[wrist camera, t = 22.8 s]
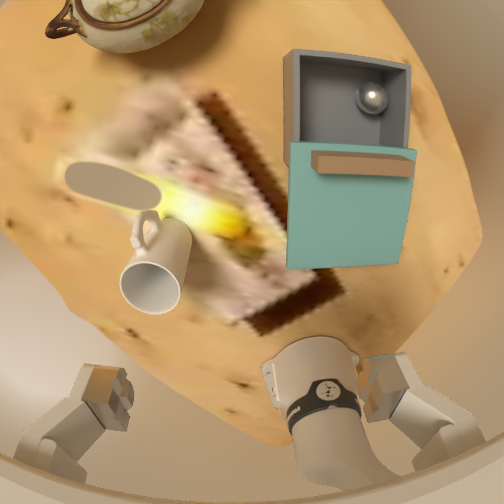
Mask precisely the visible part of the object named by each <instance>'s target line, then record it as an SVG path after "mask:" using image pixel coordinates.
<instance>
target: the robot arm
mask: <svg viewBox="0 0 504 504" xmlns="http://www.w3.org/2000/svg"><path fill="white" fill-rule="evenodd" d="M358 363H359V355H358V354H356V353H354V352H351V351H349V350H348V348H347V347H346V346H345V344H344V343H342V342H341V341H339V340H337V339H335V338H331V337H324V336H318V337H310V338H305V339H302V340H299V341H297V342H294V343H292V344H290V345H289V346H287V347H286V348H284V349H283V350H282V351H281V352H280V353H279V354H278V355H277V356H276V357H274V358H273V359H270V360H268V361H266V362H264V363H263V364H262V365H261V370H262V373H263V376H264V380H265V383H266V386H267V389H268V392H269V395H270V398H271V401H272V404H273V406H274V407H275V408H278V409H282V413H283V416H284V419H285V420H286V421H287V426H288V429H289V432H290V434H291V435H292V436H293V443H294V450H295V458H296V465H297V469H298V471H299V473H300V474H301V475H302V476H303V477H304V478H305V479H307V480H308V481H310V482H313V483H316V484H321V485H327V486H332V487H336V488H339V489H341V490H342V492H338V493H332V494H327V495H320V496H313V497H306V498H299V499H289V500H279V501H265V502H242V503H218V502H194V501H181V500H180V501H179V500H170V499H161V498H153V497H147V496H140V495H133V494H128V493H123V492H118V491H113V490H108V489H104V488H100V487H96V486H92V485H88V484H85V481H86V477H87V472H86V470H85V469H84V468H83V467H81V466H80V465H79V464H78V463H77V461H78V460H79V459H80V458H81V457H82V456H83V455H84V453H85V452H86V451H87V450H88V449H89V448H90V447H91V446H92V445H93V444H94V442H95V441H96V440H97V439H98V438H99V437H100V436H101V435H102V434H103V433H104V432H105V429H108V430H116V431H125V432H126V431H127V427H128V423H129V419H130V416H129V414H128V412H127V411H128V410H129V409H130V408H131V407H132V406H133V401H134V390H133V386H132V384H131V382H130V381H128V380H127V379H126V376H127V373H126V371H125V369H124V368H119V367H110V366H102V365H93V364H84V365H83V366H82V367H81V369H80V371H79V374H78V376H77V378H76V381H75V383H74V386H73V388H72V391H71V393H70V396H69V398H64V399H63V400H62V401H60V402H59V403H58V404H57V405H55V406H54V407H53V408H51V409H50V410H49V411H48V412H46V413H45V414H44V415H43V416H41V417H40V418H39V419H37V420H36V421H35V422H34V423H32V424H31V425H30V426H29V427H27V428H26V429H25V430H24V431H23V433H22V436H21V438H20V441H19V444H18V446H17V449H16V452H15V455H14V457H13V458H11V457H8V456H6V455H4V454H2V453H0V504H504V432H503V433H501V434H499V435H497V436H496V437H494V438H492V439H490V440H488V441H485V439H484V437H483V435H482V432H481V430H480V428H479V426H478V424H477V422H476V420H475V418H474V416H473V414H471V413H470V412H468V411H467V410H465V409H464V408H462V407H460V406H459V405H457V404H456V403H454V402H453V401H451V400H450V399H448V398H446V397H445V396H443V395H442V394H440V393H439V392H437V391H436V390H434V389H433V388H431V387H430V386H428V385H423V384H422V382H421V380H420V378H419V376H418V374H417V372H416V370H415V368H414V366H413V365H412V363H411V361H410V359H409V357H408V355H407V353H405V352H401V353H395V354H387V355H382V356H376V357H371V358H366V359H365V360H364V361H363V364H362V367H363V371H362V372H360V373H359V375H358V374H357V371H356V366H357V364H358ZM358 394H359V397H360V399H362V400H363V401H364V402H365V405H364V407H363V410H364V412H365V416H366V418H367V422H368V423H370V422H376V421H381V420H386V419H389V420H390V421H391V422H392V423H393V424H394V425H395V426H397V427H398V428H399V429H400V430H401V431H402V432H403V433H404V434H405V435H406V436H407V437H409V438H410V439H411V440H412V441H413V442H414V443H415V444H416V445H417V446H419V447H420V448H421V449H422V450H421V451H420V452H419V453H418V454H417V455H416V456H415V457H414V459H413V460H412V463H413V467H414V469H415V472H413V473H410V474H408V475H404V476H399V475H397V474H395V473H394V472H392V471H391V470H389V469H387V467H385V466H384V465H383V464H382V463H381V462H380V461H379V460H378V458H377V457H376V456H375V454H374V452H373V450H372V449H371V446H370V444H369V441H368V439H367V436H366V434H365V431H364V428H363V425H362V422H361V419H360V418H361V408H360V404H359V402H358V399H357V395H358Z"/></svg>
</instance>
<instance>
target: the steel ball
mask: <svg viewBox="0 0 504 504" xmlns="http://www.w3.org/2000/svg"><path fill="white" fill-rule="evenodd" d="M355 97H356V102H357V104H358V106H359V107H360V108H361V109H362V110H363V111H364V112H366V113H369V114H378V113H381V112H382V111H384V110H385V108H386V107H387V105H388V100H389V99H388V94H387V92H386V90H385V89H384V88H383V87H382V86H381V85H379V84H378V83H375V82H366V83H363V84H362V85H360V86H359V87H358V89H357V91H356V96H355Z"/></svg>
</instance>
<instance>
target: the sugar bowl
mask: <svg viewBox="0 0 504 504" xmlns="http://www.w3.org/2000/svg"><path fill="white" fill-rule="evenodd" d="M203 3H204V0H66V3H65V6H64V8H63V9H62V11H61V12H60V13H59V14H58V15H57V16H56V17H55V18H54V19H53V20H52V21H51V22H50V23H49V24H48V26H47V28H46V31H45V34H46V36H47V37H48V38H51V39H56V38H61V37H65V36H68V35H71V34H74V33H78V35H79V36H80V37H81V38H82V39H83V40H84V41H85V42H86V43H88V44H89V45H91V46H93V47H95V48H97V49H100V50H102V51H106V52H111V53H133V52H139V51H143V50H147V49H150V48H153V47H155V46H158V45H160V44H162V43H164V42H166V41H168V40H169V39H171V38H172V37H174V36H175V35H177V34H178V33H179V32H181V31H182V30H183V29H184V28H185V27H186V26H187V25H188V24H189V23H190V22H191V21H192V20H193V19H194V18H195V16H196V15H197V13H198V12H199V11H200V9H201V7H202V5H203ZM68 12H69V16H70V20H65V19H63V18H64V17H65V16H66V15H67V14H68ZM60 27H67V28H63V29H59V30H57V29H58V28H60Z"/></svg>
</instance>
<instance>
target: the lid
mask: <svg viewBox="0 0 504 504" xmlns="http://www.w3.org/2000/svg"><path fill="white" fill-rule="evenodd" d="M416 155H417V150H414V149H410V148H401V147H391V146H380V145H368V144H354V143H335V142H306V141H289V185H288V224H287V252H286V267H287V270H291V269H312V268H332V267H351V266H369V265H387V264H398V261H399V257H400V253H401V248H402V243H403V239H404V234H405V228H406V223H407V218H408V212H409V206H410V200H411V194H412V187H413V180H414V172H415V164H416Z"/></svg>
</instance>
